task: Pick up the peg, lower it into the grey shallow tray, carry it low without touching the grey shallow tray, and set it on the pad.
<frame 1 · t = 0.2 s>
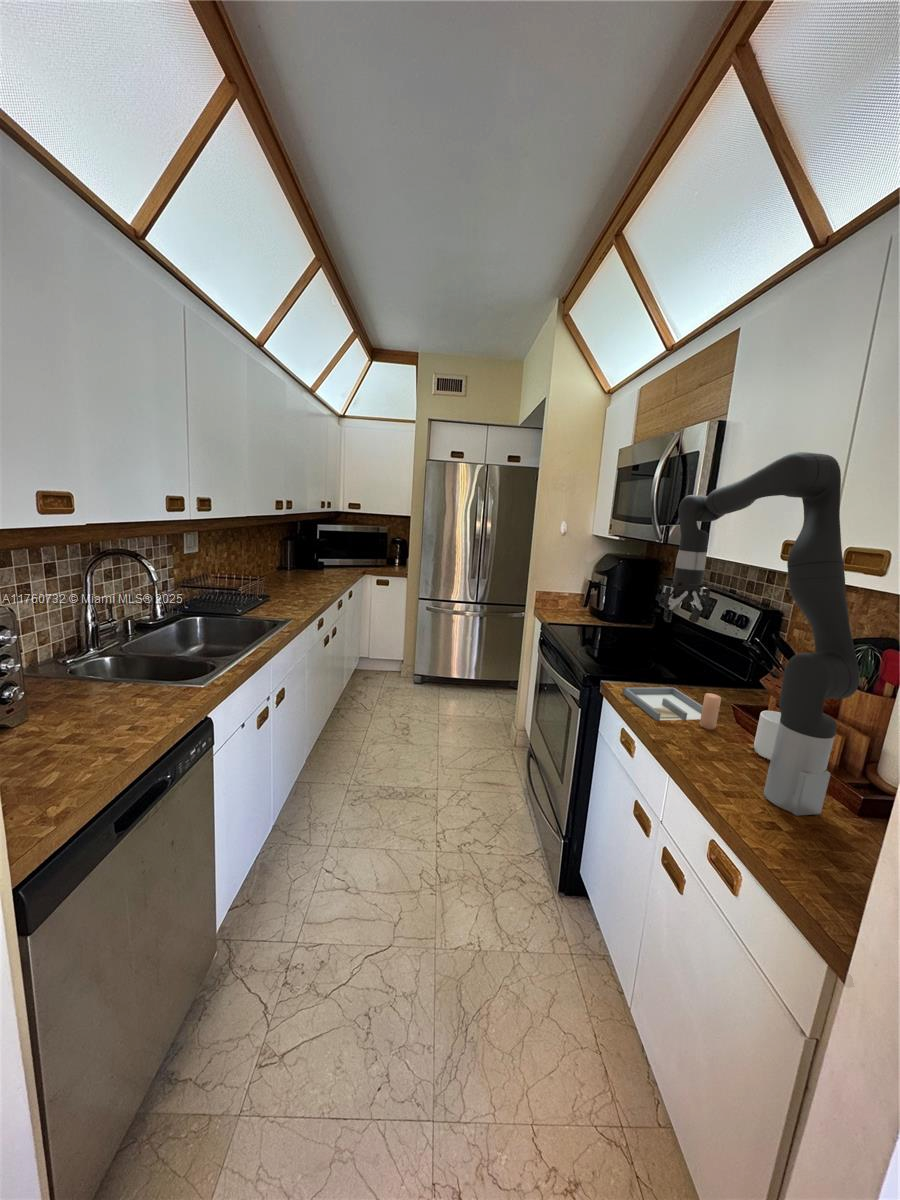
hand: (680, 621, 137), 28 cm above the worktop, fingers open, 8 cm apart
grey shallow tray: (664, 708, 144), on the worktop
cup: (769, 751, 122), on the worktop
pad: (663, 713, 138), resting on grey shallow tray
peg: (706, 729, 132), on the worktop
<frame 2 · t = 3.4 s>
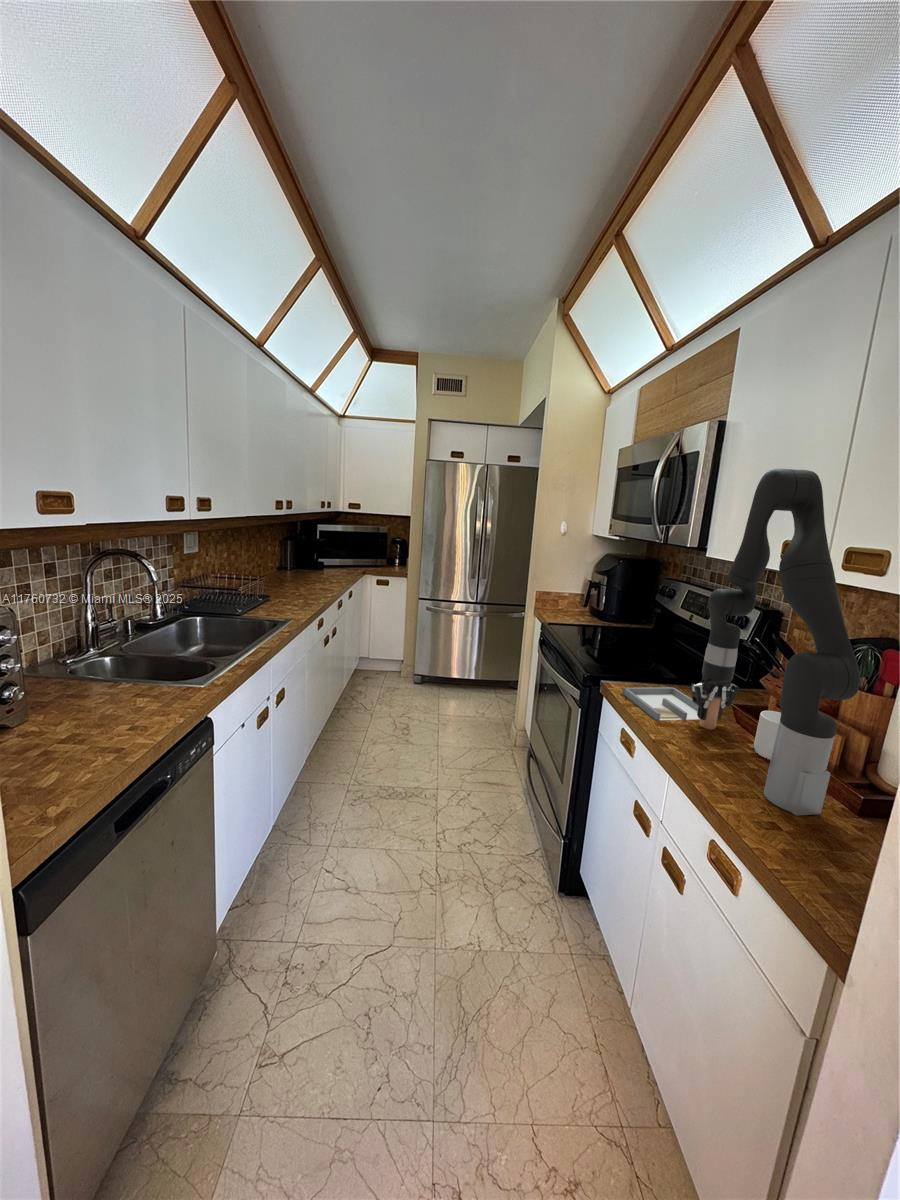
hand: (708, 718, 131), 3 cm above the worktop, fingers closed on peg, 4 cm apart
peg: (706, 729, 132), on the worktop, touching gripper
everything else where it was.
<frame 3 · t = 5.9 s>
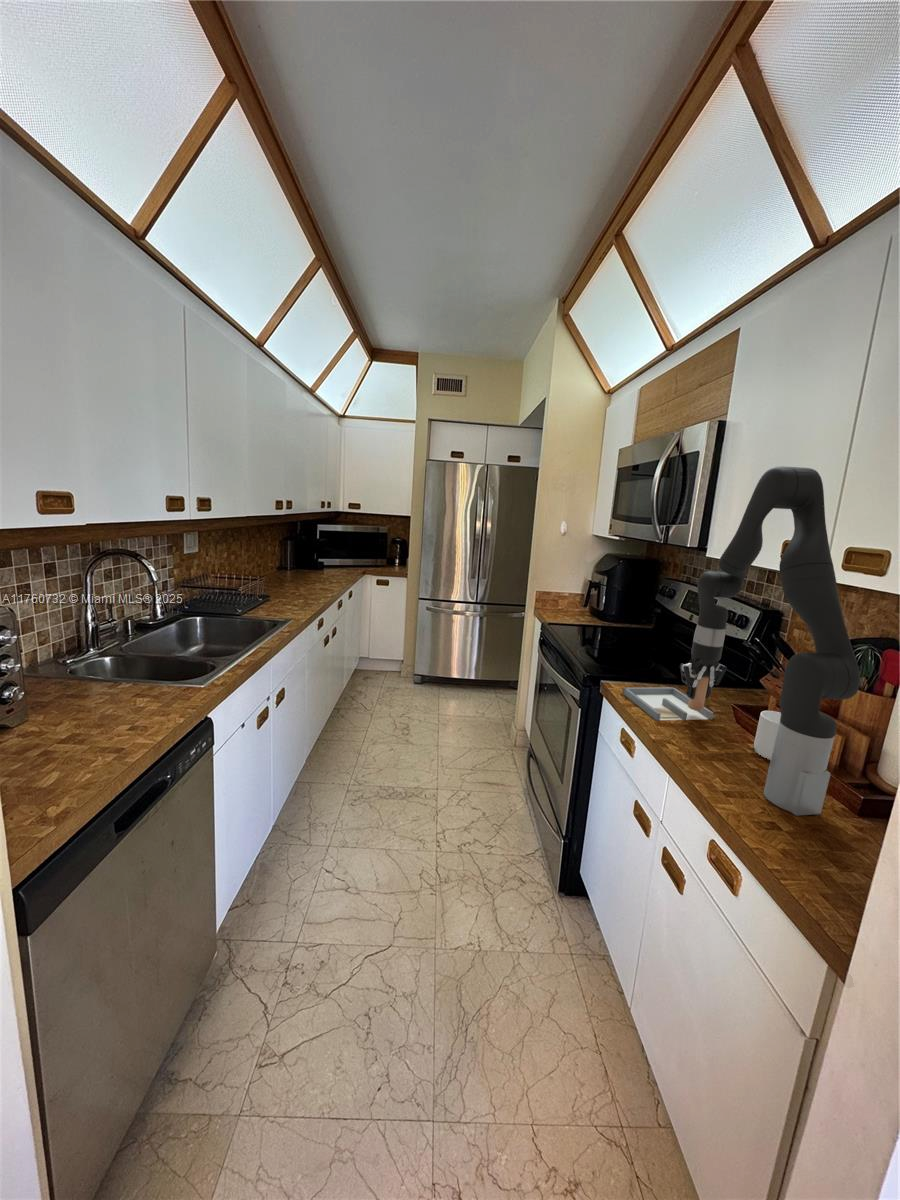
hand: (697, 697, 136), 7 cm above the worktop, fingers closed on peg, 4 cm apart
peg: (695, 707, 137), point 4 cm above the worktop, touching gripper
everything else where it was.
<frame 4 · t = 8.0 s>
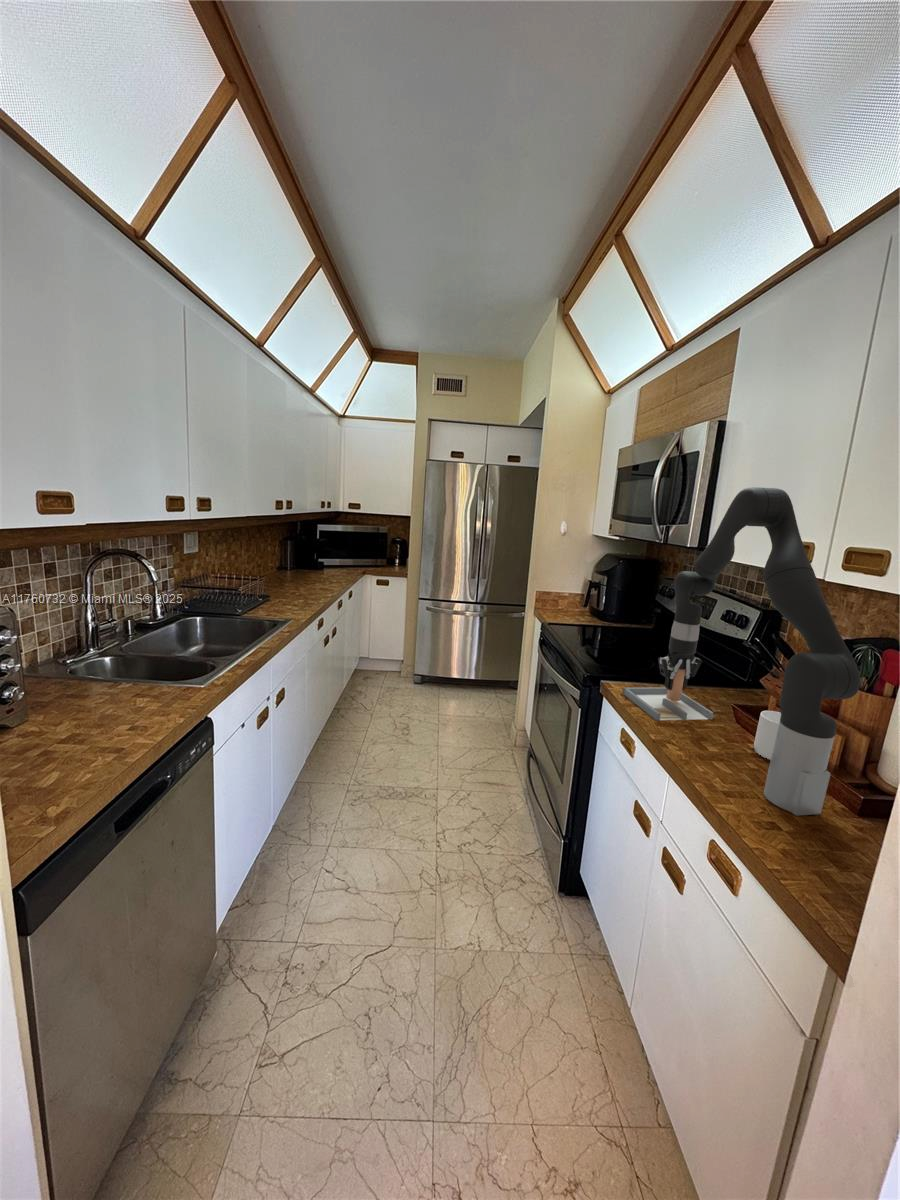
hand: (675, 688, 146), 5 cm above the worktop, fingers closed on peg, 4 cm apart
peg: (673, 698, 147), point 2 cm above the worktop, touching gripper
everything else where it was.
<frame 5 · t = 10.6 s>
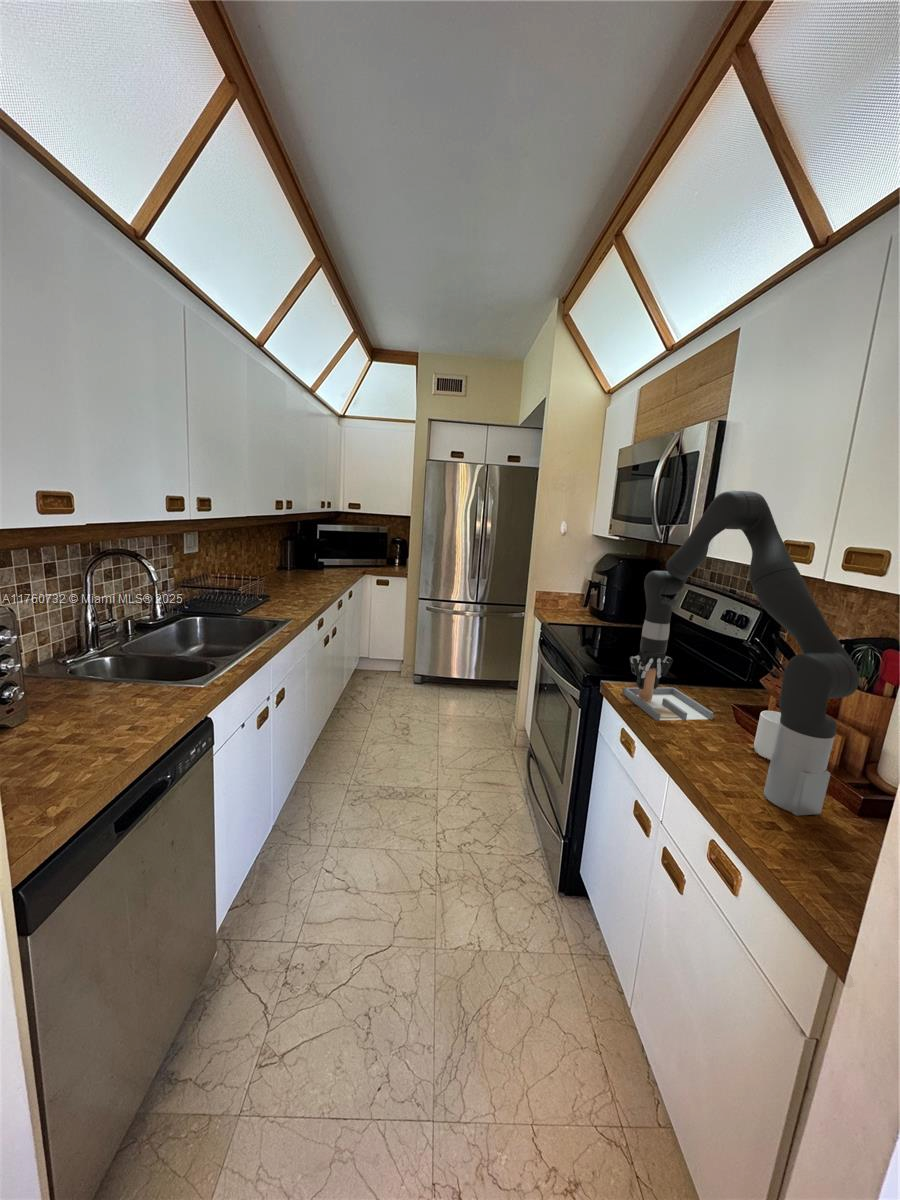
hand: (646, 687, 146), 5 cm above the worktop, fingers closed on peg, 4 cm apart
peg: (645, 697, 147), point 2 cm above the worktop, touching gripper
everything else where it was.
when the fingers open (5 cm above the worktop, at t = 12.6 s): peg stays where it is, resting on pad.
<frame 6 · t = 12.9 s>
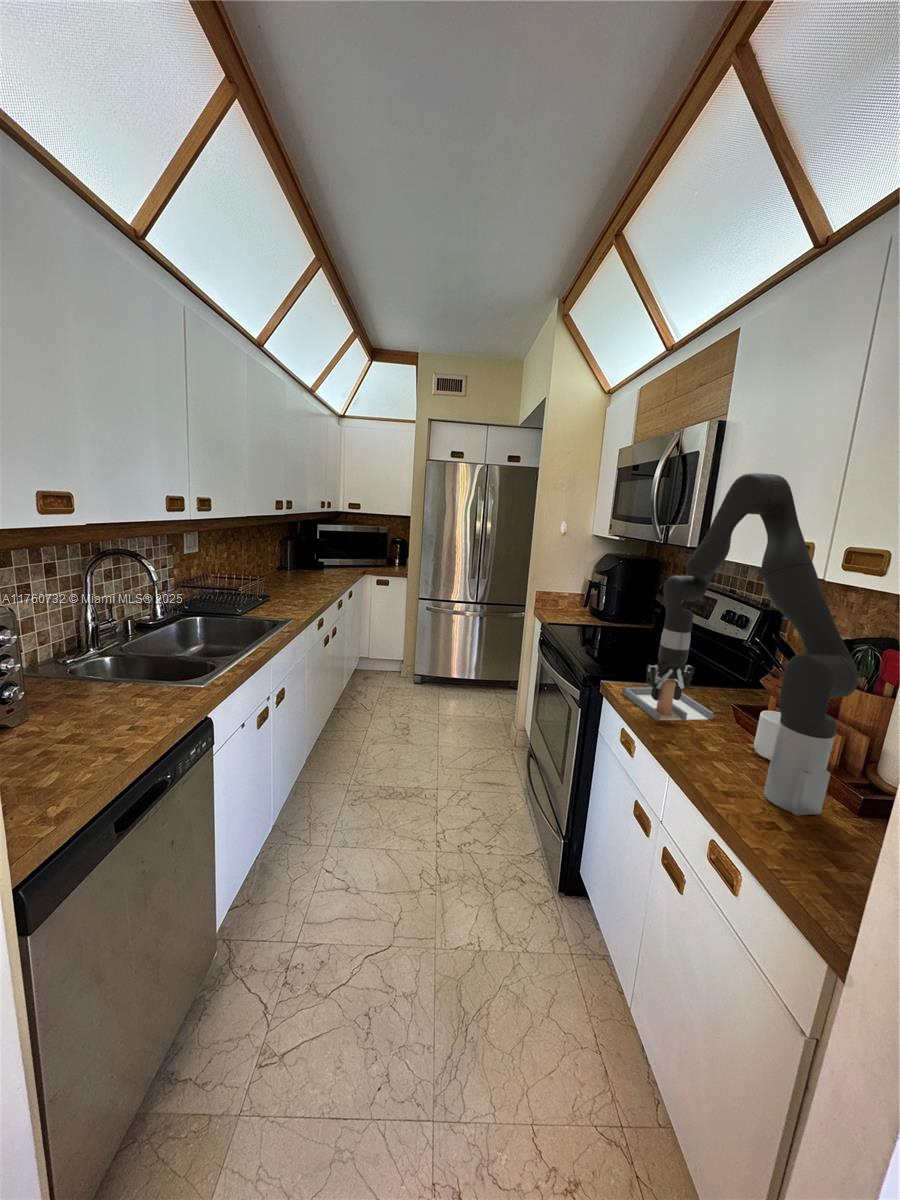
hand: (665, 699, 137), 6 cm above the worktop, fingers open, 6 cm apart
peg: (663, 712, 138), point 1 cm above the worktop, touching pad
everything else where it was.
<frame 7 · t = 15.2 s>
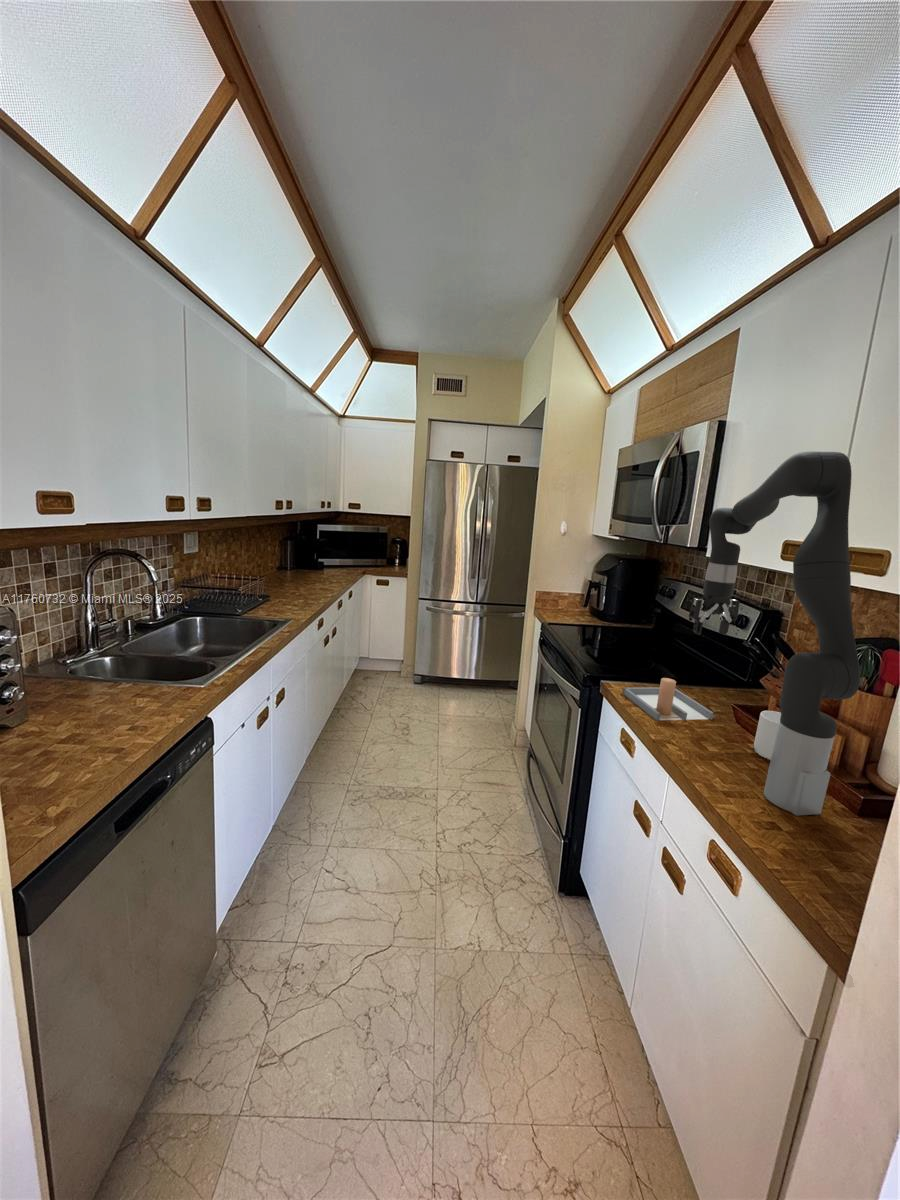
hand: (709, 633, 137), 25 cm above the worktop, fingers open, 8 cm apart
nothing on the worktop moved.
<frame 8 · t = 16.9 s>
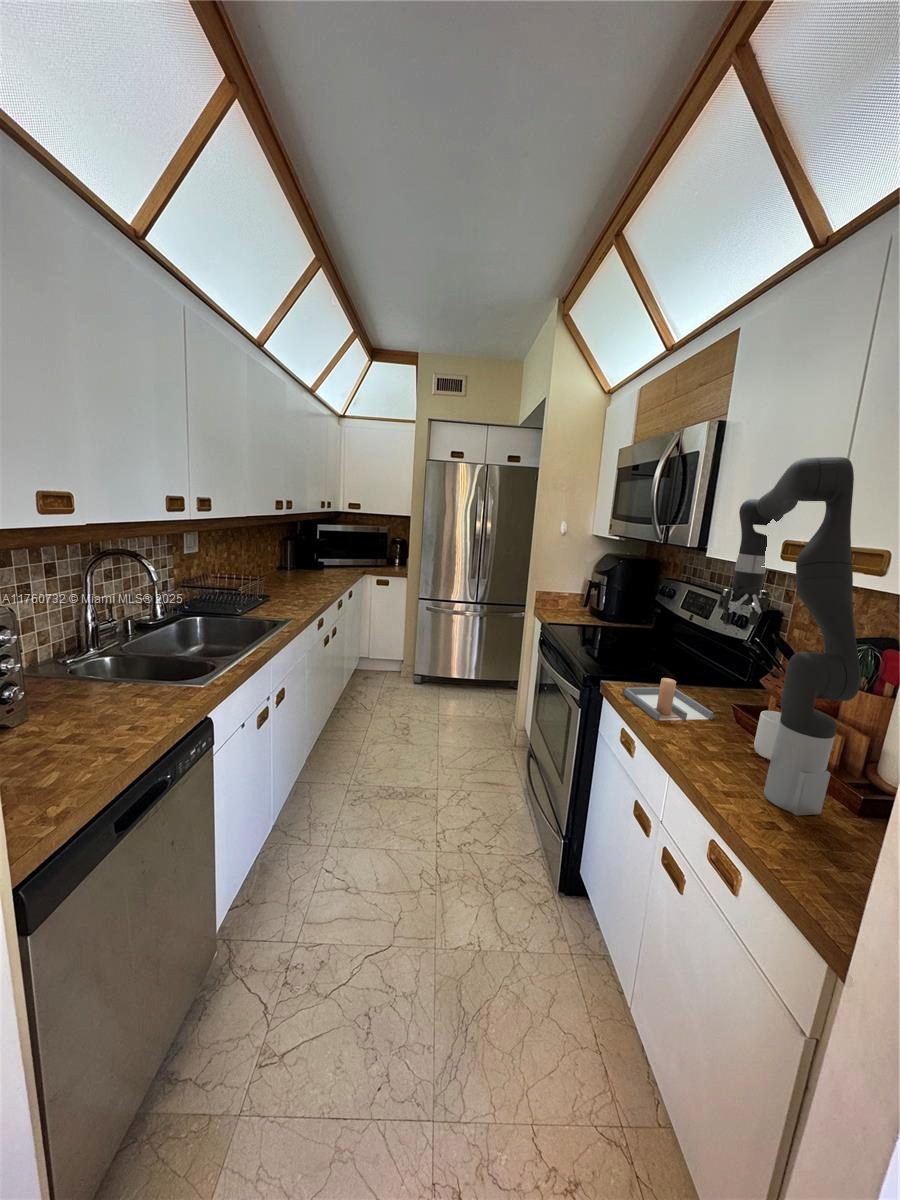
hand: (739, 624, 138), 28 cm above the worktop, fingers open, 8 cm apart
nothing on the worktop moved.
at the end: peg 0.0 cm off-centre on the pad, point 0.4 cm above the pad's base; peg tilted 0°; the gripper is holding nothing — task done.
